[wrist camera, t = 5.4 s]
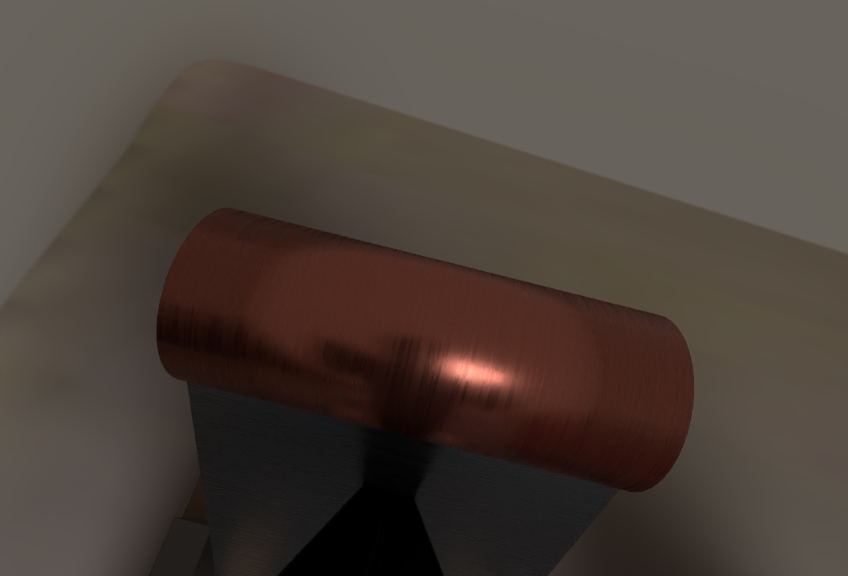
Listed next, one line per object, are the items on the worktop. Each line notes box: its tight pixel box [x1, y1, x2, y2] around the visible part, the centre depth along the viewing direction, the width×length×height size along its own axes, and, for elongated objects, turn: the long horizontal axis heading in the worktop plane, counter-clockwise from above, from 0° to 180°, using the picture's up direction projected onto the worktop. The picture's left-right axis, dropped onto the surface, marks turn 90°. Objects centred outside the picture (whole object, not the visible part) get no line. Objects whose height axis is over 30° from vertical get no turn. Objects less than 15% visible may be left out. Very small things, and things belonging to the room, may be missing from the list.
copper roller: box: [157, 208, 694, 576], centre depth 8 cm, size 2×6×10 cm, turn 76°
